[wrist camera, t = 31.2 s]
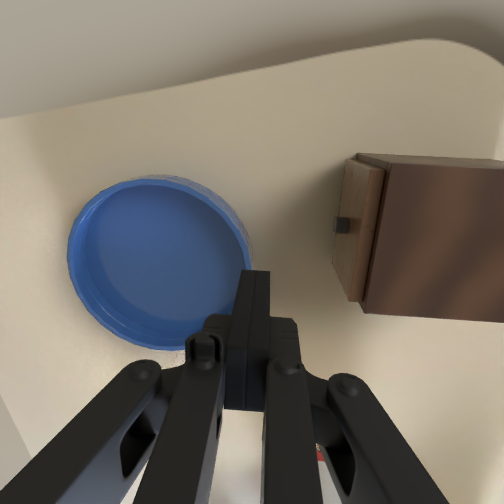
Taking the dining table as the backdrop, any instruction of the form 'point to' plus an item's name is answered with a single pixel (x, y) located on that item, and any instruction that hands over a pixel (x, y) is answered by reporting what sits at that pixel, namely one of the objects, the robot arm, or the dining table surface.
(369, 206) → the drawer
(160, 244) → the bowl
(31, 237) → the dining table surface
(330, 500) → the citrus juicer
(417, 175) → the cabinet
